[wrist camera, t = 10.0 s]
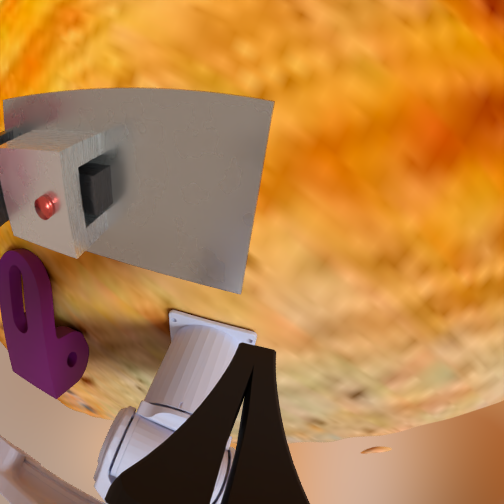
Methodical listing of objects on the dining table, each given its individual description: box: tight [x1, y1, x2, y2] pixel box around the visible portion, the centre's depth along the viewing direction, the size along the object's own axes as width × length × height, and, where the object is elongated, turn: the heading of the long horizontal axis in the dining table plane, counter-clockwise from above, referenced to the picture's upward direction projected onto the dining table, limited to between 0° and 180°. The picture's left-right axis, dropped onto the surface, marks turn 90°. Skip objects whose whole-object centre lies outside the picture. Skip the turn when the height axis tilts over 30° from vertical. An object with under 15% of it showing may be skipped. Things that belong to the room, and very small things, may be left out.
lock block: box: [0, 130, 108, 259], centre depth 18 cm, size 8×8×5 cm
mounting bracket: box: [0, 248, 89, 399], centre depth 30 cm, size 10×8×18 cm
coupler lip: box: [0, 88, 275, 294], centre depth 18 cm, size 14×24×4 cm, turn 82°
